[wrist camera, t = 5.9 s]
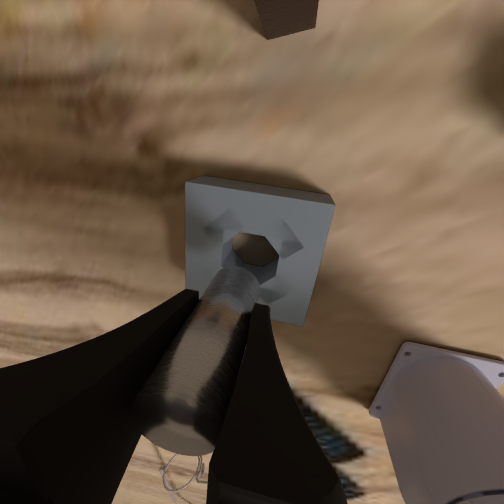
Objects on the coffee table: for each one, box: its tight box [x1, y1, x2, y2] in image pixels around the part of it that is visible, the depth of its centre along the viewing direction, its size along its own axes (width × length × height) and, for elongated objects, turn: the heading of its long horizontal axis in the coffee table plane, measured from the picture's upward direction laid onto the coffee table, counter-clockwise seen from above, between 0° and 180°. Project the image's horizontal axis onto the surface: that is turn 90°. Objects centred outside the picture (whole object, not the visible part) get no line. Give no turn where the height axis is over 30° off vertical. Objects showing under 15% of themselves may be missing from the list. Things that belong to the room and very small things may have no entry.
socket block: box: [185, 176, 336, 327], centre depth 18 cm, size 9×9×3 cm
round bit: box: [130, 266, 260, 456], centre depth 10 cm, size 3×3×7 cm
